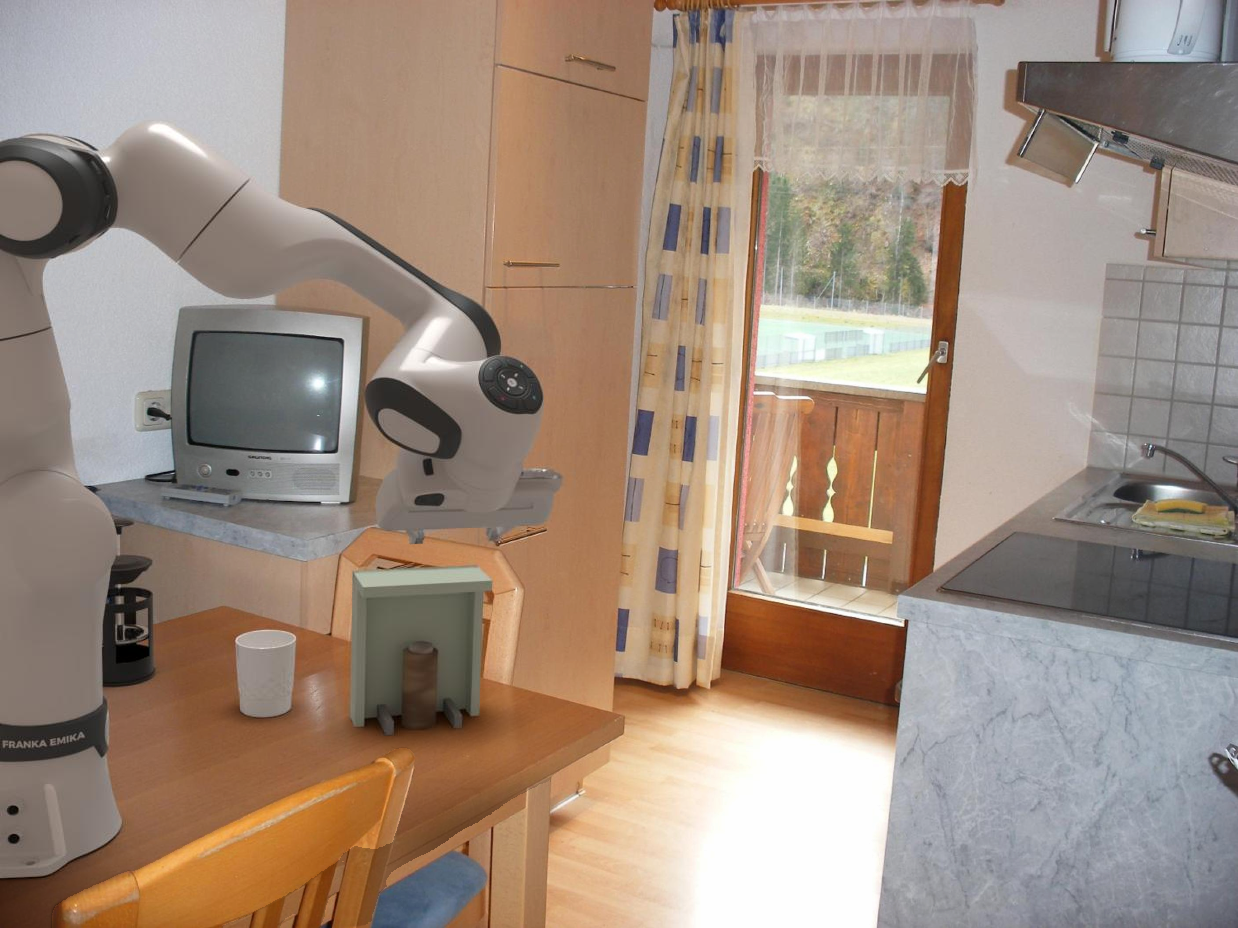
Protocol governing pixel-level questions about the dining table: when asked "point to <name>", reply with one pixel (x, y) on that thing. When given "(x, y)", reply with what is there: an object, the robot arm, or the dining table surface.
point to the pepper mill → (419, 685)
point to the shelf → (416, 638)
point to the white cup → (265, 672)
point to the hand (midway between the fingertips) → (454, 537)
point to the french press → (127, 622)
